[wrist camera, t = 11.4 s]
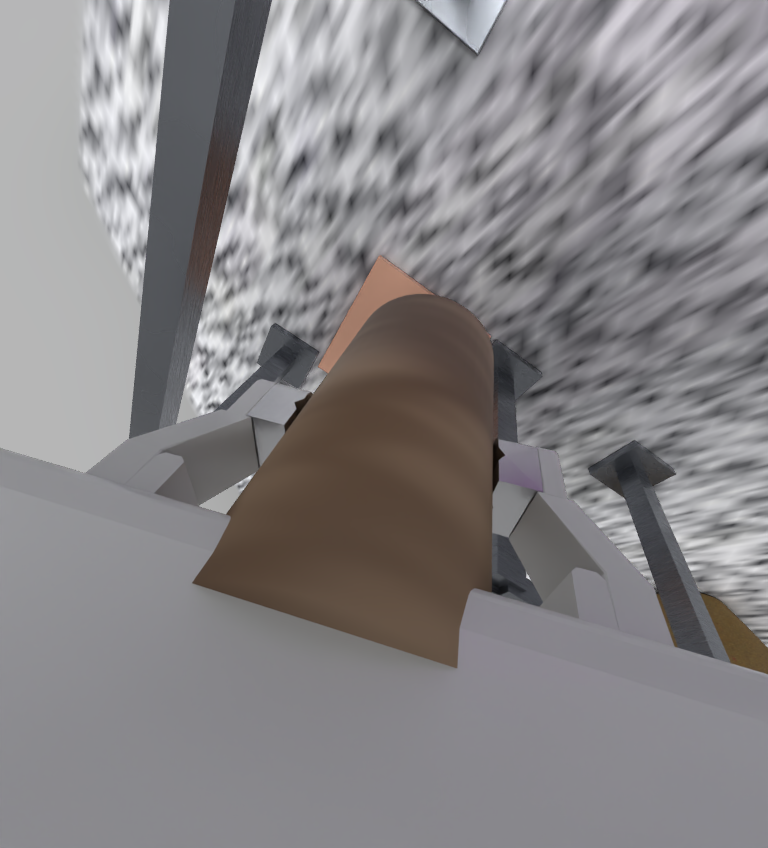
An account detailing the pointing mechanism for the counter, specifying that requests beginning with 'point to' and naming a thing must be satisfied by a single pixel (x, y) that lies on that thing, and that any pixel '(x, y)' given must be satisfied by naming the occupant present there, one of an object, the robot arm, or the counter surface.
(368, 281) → the tile
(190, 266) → the dark grey bar frame
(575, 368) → the counter surface
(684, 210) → the counter surface
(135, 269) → the counter surface
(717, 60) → the counter surface
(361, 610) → the walnut cylinder
